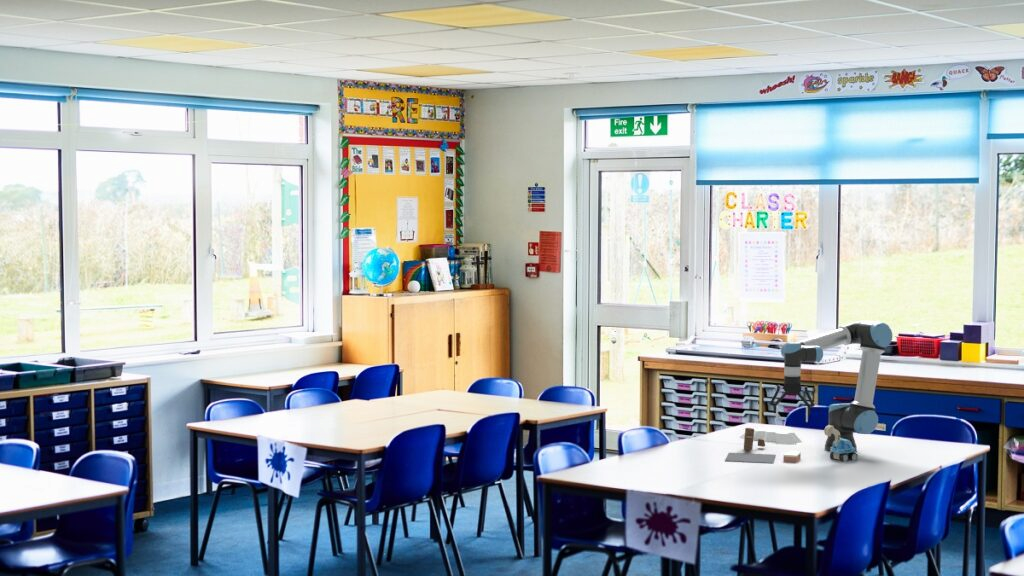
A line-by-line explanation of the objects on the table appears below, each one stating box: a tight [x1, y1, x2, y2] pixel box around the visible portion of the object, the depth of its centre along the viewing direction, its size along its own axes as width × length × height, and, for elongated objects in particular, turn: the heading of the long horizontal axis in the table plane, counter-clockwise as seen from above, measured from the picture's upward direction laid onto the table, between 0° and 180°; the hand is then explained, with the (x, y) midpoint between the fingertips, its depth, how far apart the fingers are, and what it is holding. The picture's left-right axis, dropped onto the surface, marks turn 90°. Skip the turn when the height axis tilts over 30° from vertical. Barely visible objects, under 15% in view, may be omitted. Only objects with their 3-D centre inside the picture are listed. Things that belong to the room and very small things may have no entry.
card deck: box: [783, 450, 801, 463], centre depth 570 cm, size 6×10×4 cm, turn 156°
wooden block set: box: [743, 427, 766, 451], centre depth 599 cm, size 18×9×10 cm, turn 151°
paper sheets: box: [739, 427, 803, 445], centre depth 631 cm, size 35×20×6 cm, turn 48°
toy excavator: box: [823, 424, 858, 462], centre depth 571 cm, size 9×17×17 cm, turn 117°
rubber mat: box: [724, 452, 776, 465], centre depth 575 cm, size 22×22×1 cm
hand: (791, 421), depth 570 cm, fingers open, 13 cm apart
